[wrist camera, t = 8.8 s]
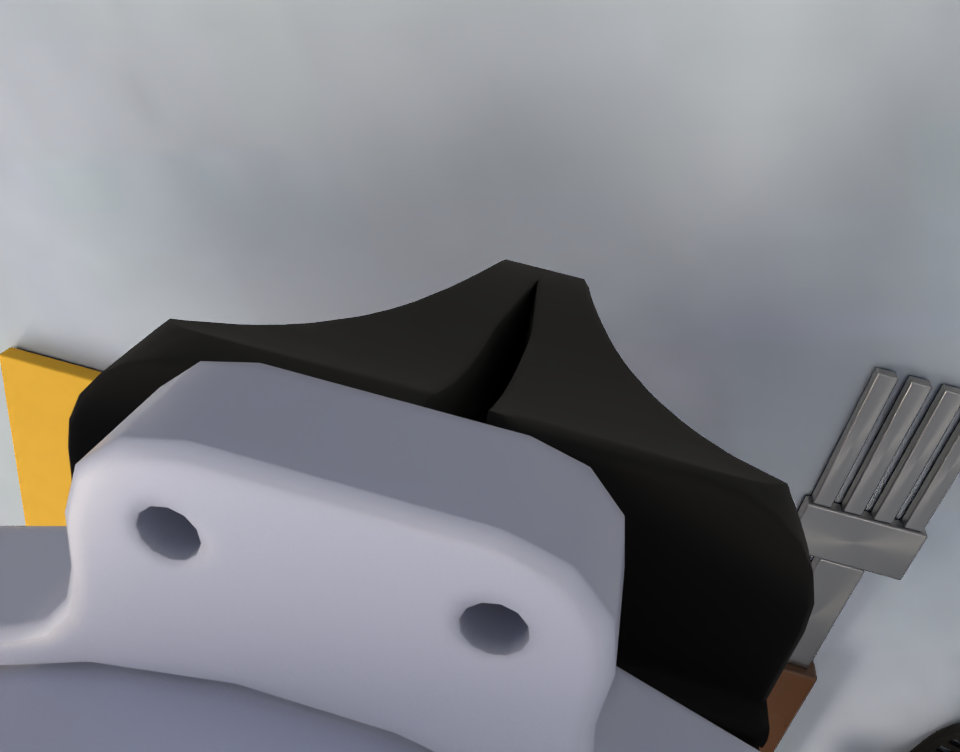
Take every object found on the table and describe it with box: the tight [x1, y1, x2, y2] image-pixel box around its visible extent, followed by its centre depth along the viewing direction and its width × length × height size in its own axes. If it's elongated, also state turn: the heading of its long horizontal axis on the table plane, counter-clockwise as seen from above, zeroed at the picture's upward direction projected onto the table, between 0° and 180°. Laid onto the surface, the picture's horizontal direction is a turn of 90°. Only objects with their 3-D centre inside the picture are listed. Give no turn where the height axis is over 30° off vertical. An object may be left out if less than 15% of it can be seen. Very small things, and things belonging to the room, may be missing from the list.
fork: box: [759, 368, 960, 752], centre depth 18 cm, size 16×2×1 cm, turn 170°
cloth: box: [0, 347, 102, 526], centre depth 21 cm, size 10×6×1 cm, turn 170°
